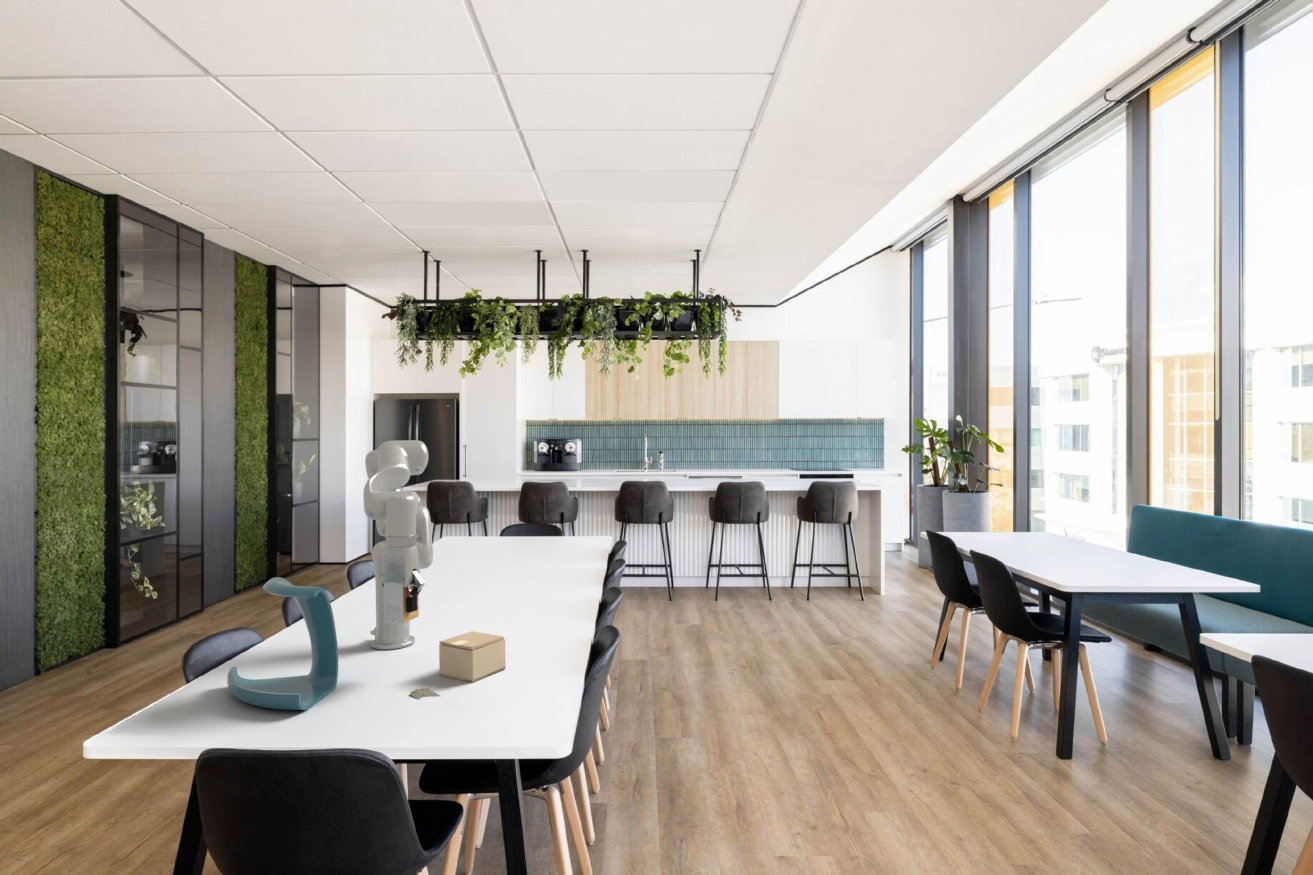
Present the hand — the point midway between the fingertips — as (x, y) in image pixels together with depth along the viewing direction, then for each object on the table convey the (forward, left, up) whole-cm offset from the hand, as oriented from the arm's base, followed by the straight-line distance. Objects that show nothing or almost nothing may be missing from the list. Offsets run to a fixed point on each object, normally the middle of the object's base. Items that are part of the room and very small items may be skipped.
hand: (401, 608), depth 188 cm
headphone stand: (-17, -25, -18) cm, 36 cm away
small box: (0, 0, -3) cm, 3 cm away
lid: (+14, +11, -10) cm, 20 cm away
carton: (+14, +12, -18) cm, 25 cm away
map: (+22, -8, -18) cm, 30 cm away
